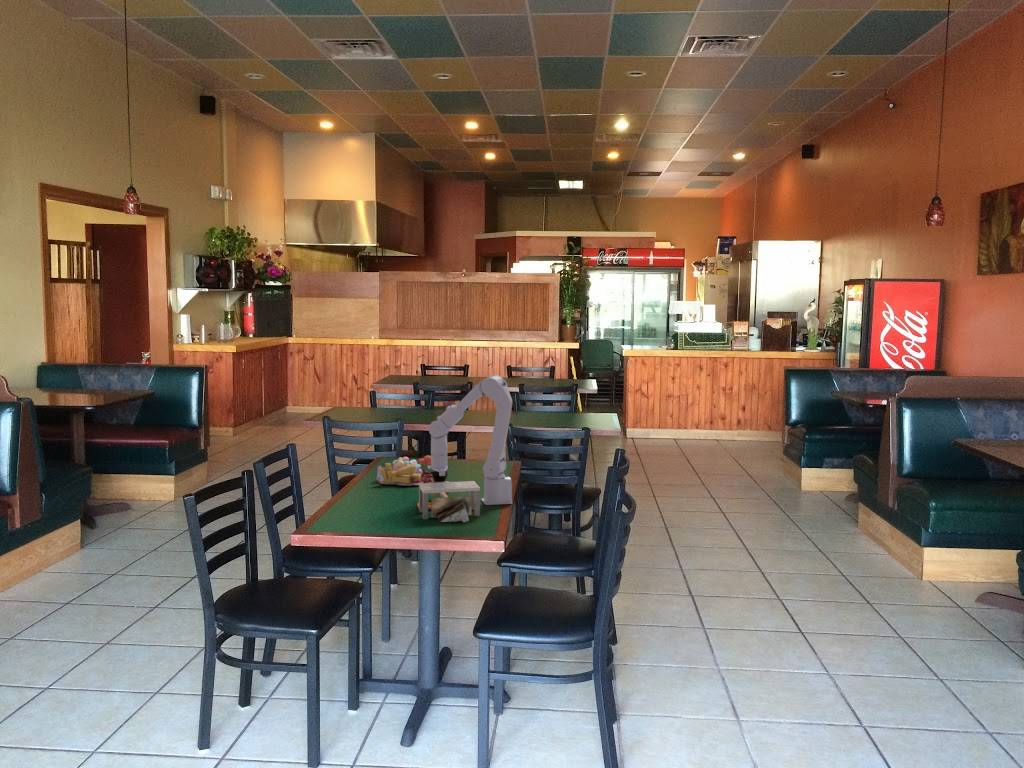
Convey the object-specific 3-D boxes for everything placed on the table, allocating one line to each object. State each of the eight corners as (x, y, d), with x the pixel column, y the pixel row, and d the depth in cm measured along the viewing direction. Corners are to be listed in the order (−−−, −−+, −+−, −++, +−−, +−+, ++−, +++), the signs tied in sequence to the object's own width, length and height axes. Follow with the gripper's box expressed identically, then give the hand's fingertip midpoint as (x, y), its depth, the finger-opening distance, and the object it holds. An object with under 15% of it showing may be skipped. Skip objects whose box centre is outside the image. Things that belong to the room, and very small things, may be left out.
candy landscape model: (434, 488, 306) (434, 464, 305) (371, 487, 306) (371, 463, 305) (441, 474, 330) (441, 451, 330) (383, 473, 331) (383, 451, 330)
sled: (458, 497, 289) (458, 480, 288) (471, 515, 265) (471, 497, 264) (421, 499, 285) (421, 482, 285) (431, 517, 262) (431, 499, 261)
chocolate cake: (433, 525, 255) (461, 500, 254) (430, 514, 261) (457, 489, 260) (454, 542, 259) (481, 517, 258) (450, 530, 266) (477, 506, 264)
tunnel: (473, 508, 275) (474, 481, 274) (480, 516, 265) (480, 487, 264) (419, 511, 271) (419, 483, 270) (423, 519, 261) (423, 490, 260)
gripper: (425, 450, 293) (425, 487, 295) (430, 458, 279) (430, 497, 281) (444, 450, 295) (444, 486, 296) (451, 457, 281) (451, 496, 282)
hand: (439, 491), depth 288 cm, fingers closed
